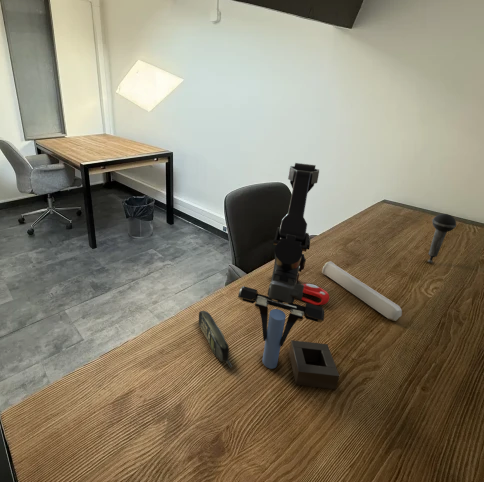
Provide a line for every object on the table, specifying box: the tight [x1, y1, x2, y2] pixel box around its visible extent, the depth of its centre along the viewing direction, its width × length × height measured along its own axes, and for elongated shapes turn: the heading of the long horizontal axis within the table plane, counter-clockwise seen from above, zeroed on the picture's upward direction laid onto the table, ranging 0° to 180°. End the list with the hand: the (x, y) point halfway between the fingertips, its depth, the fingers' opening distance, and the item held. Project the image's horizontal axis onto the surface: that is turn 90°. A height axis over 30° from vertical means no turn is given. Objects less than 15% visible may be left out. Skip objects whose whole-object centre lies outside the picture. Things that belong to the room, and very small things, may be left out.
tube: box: [321, 260, 403, 322], centre depth 94 cm, size 5×5×25 cm
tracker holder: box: [301, 283, 330, 306], centre depth 92 cm, size 12×4×10 cm
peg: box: [262, 308, 287, 370], centre depth 68 cm, size 3×3×14 cm
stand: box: [288, 340, 340, 390], centre depth 68 cm, size 8×8×4 cm
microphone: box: [427, 213, 457, 264], centre depth 111 cm, size 7×7×20 cm
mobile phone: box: [198, 310, 233, 369], centre depth 74 cm, size 5×3×15 cm
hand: (272, 343), depth 67 cm, fingers closed on peg, 3 cm apart
